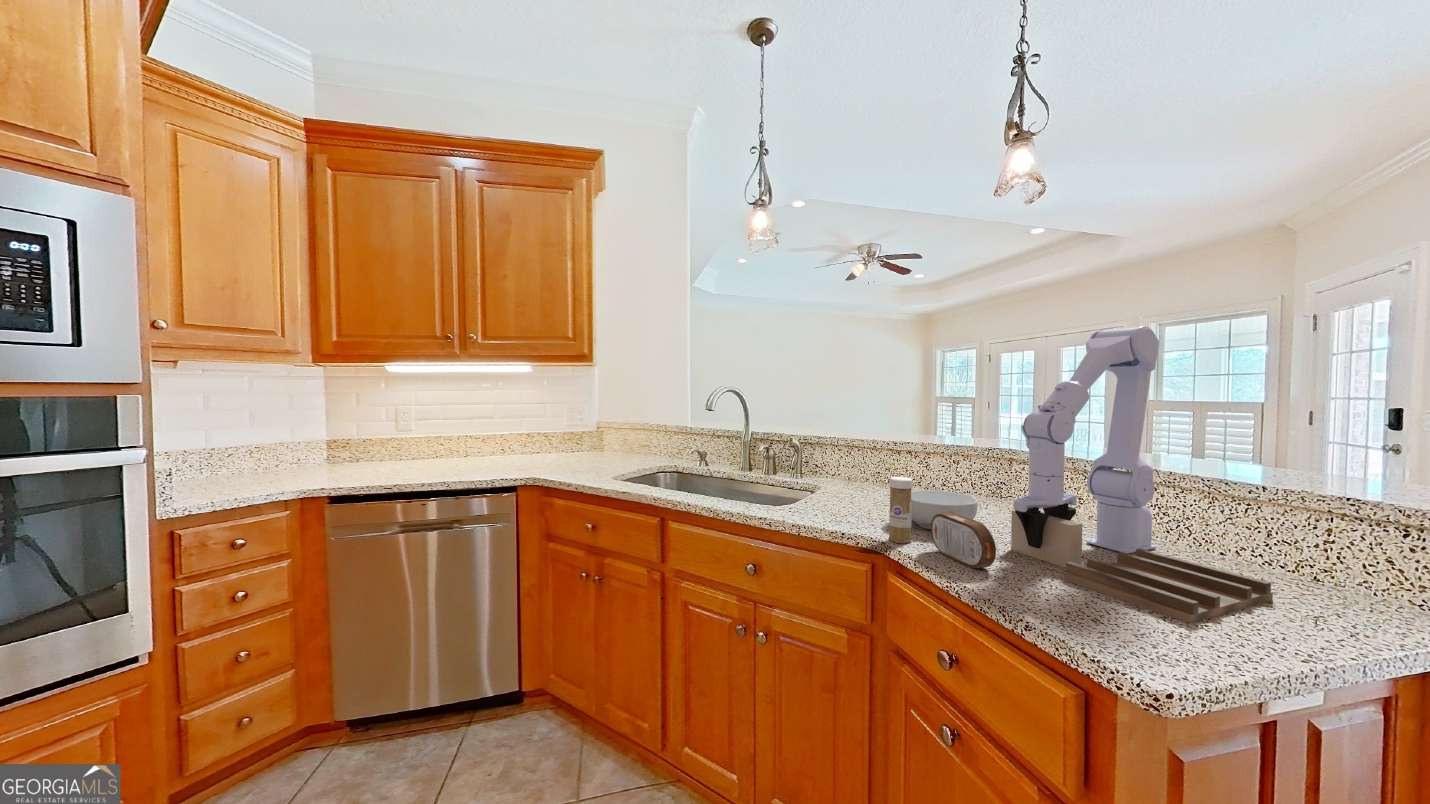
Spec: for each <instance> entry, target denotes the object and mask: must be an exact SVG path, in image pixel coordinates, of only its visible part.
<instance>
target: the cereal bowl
mask: <svg viewBox="0 0 1430 804" xmlns="http://www.w3.org/2000/svg"><path fill="white" fill-rule="evenodd" d="M978 503H979V501H978V499H977V498H976V497H974V496H971V495H968V494H964V493H959V492H952V491H945V490H928V489H927V490H923V489H921V490H917V489H916V490H911V521H913V522H916V523H917V524H918V525H919V526H920V527H922V528H924V529H928V530H931V521H932V519H933V517H934V516H935V515H937V514H940V513H945V512H954V513H957V514H959V515H962V516H964V517H967V518H970V519H973V520H975V518H976V516H977V512H978V506H979V505H978Z"/></svg>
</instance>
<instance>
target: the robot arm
mask: <svg viewBox="0 0 1430 804" xmlns="http://www.w3.org/2000/svg"><path fill="white" fill-rule="evenodd" d="M1159 346H1160V341H1159V339H1158V337H1157V335H1156V334H1155V332H1154V330H1152V328H1150V327H1149V326H1147V325H1146V326H1145V325H1141V326H1138V327H1129V328H1118V329H1109V330H1108V329H1107V330H1103V329H1099V330H1095V331H1094V332H1093V333H1091V335H1090V337H1089V339H1087V341H1086V342H1085V350H1086V354H1085V355H1084V357H1083V358H1082V360H1081V362H1080V363H1079V364H1078V366H1077V368H1076V369H1075V371H1074V372H1073V374H1072V376H1071V378H1070V379H1069V380H1068V381H1061V382H1059V383H1057V384H1056V386H1054V389H1053V390H1052V392H1051V393H1050V395H1049V396H1048V397H1047V398H1046V400H1045V401H1044V403H1043V404H1042V405H1041V407H1039V409H1038V410H1035V411H1032V412H1030V413H1029V414H1028V415H1027V416H1026V417H1025V418H1024V421H1023V423H1022V425H1021V431H1022V435H1023V437H1024V438H1025V446H1026V447H1027V449H1028V485H1027V486H1028V492H1027V493H1024V494H1023V496H1022V497H1019V498H1016V499H1013V510H1015V513H1016V514H1017V516H1018V517H1019V519H1020V521H1021V523H1022V525H1023V528H1024V531H1025V534H1026V538H1027V542H1028V546H1031V547H1034V548H1041V545H1042V539H1043V530H1044V526H1045V523H1046V521H1047V519H1048V517H1049V516H1053V517H1057V518H1061V519H1065V520H1069V521H1072V520H1073V518H1074V517H1075V516H1076V513H1077V508H1075V507H1073V506H1077V499H1078V498H1077V495H1076V494H1074V493H1073V494H1072V493H1069V492H1068V493H1067V492H1066V493H1065V492H1064V490H1065V489H1064V488H1065V486H1064V485H1065V452H1066V451H1065V448H1066V447H1065V446H1066V445H1065V444H1066V442H1067V441H1069V439H1070V438H1072V436H1073V433H1074V428H1075V427H1074V426H1075V424H1076V421H1077V419H1076V418H1077V416H1078V414H1079V413H1080V412H1081V411H1082V409H1083V408H1084V407H1085V405H1086V404H1087V403H1088V401H1089V400H1090V392H1089V391H1088V390H1089V389H1090V388H1091V387H1092V386H1093V385H1094V384H1095V382H1096V381H1098V379H1099V378H1101V376H1102V375H1103V374H1104V373H1105V372H1106V371H1108V372H1111V373H1112V374H1114V376H1116V386H1115V393H1114V400H1113V406H1112V415H1111V420H1110V426H1109V427H1110V428H1109V434H1108V441H1107V447H1106V452H1105V453H1104V454H1102V455H1100V456H1099V457H1097V458H1096V459H1094V460H1093V462H1092V468H1091V470H1090V472H1089V473H1088V476H1087V478H1086V486H1087V489H1088V492H1089V493H1090V494H1091V495H1092V496H1093V501H1096V504H1097V506H1096V512H1097V513H1096V538H1093V539H1092V538H1091V539H1086V541H1085V543H1087V544H1090V545H1093V546H1097V547H1101V548H1104V549H1108V550H1111V551H1116V552H1117V553H1119V552H1123V553H1127V554H1134V553H1136V549H1144V550H1147V551H1150V550H1154V549H1157V545H1155V544H1152V535H1153V533H1152V531H1153V530H1152V529H1153V515H1152V512H1151V510H1150V509H1149V508H1148V506H1147V504H1149V502H1150V501H1151V500H1152V499H1153V497H1154V495H1155V489H1156V488H1155V483H1154V468H1153V467H1152V466H1150V465H1149V464H1148V463H1147V462H1146V461H1144V460H1143V459H1142V458H1141V457H1140V454H1141V447H1142V446H1141V445H1142V439H1143V438H1142V437H1143V432H1144V424H1145V419H1146V411H1147V403H1148V398H1149V397H1148V396H1149V389H1150V382H1151V376H1152V372H1153V371H1154V370H1156V364H1157V361H1158V360H1157V359H1158V351H1159ZM1119 469H1120V470H1119ZM1121 469H1124V470H1126V471H1124V470H1121ZM1127 470H1129V471H1127ZM1071 506H1072V507H1071ZM1040 509H1042V510H1043V512H1042V511H1041V510H1040Z"/></svg>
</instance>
